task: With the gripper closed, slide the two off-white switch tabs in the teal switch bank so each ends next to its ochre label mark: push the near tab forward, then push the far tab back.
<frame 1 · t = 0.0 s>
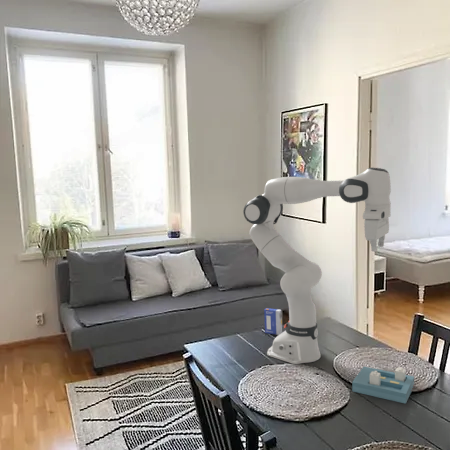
hand: (377, 248, 171), 48 cm above the table, tool pointing down, fingers open, 8 cm apart
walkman: (273, 333, 221), on the table
switch bank: (383, 388, 164), on the table
tab far: (400, 375, 164), point 5 cm above the table, slide at 7.0 cm
tab near: (375, 379, 162), point 5 cm above the table, slide at 0.0 cm
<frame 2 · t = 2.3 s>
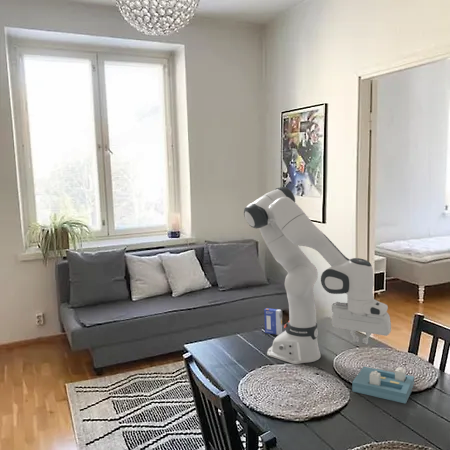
hand: (360, 342, 163), 17 cm above the table, tool pointing down, fingers closed
nothing on the table moved.
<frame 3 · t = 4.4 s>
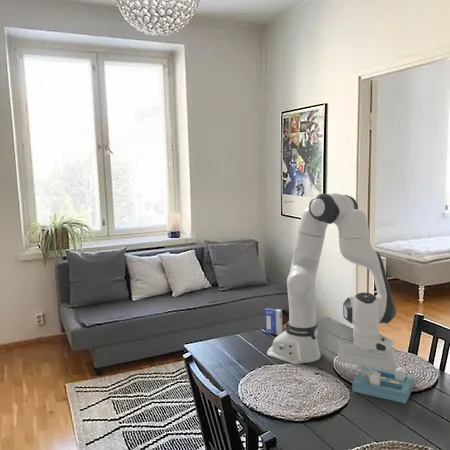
hand: (366, 377, 163), 5 cm above the table, tool pointing down, fingers closed
tab near: (375, 379, 162), point 5 cm above the table, slide at 0.0 cm, touching gripper
everything else where it was.
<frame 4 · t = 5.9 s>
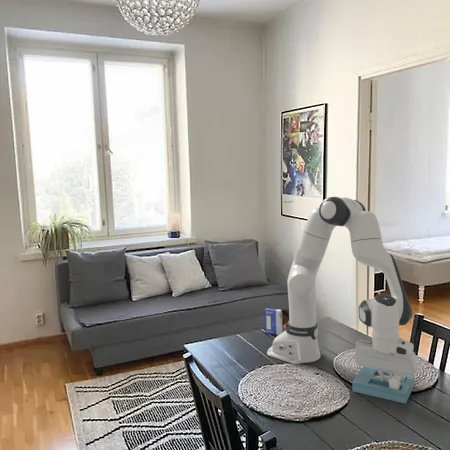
hand: (385, 381, 160), 5 cm above the table, tool pointing down, fingers closed
tab near: (394, 383, 158), point 5 cm above the table, slide at 6.6 cm, touching gripper
everything else where it was.
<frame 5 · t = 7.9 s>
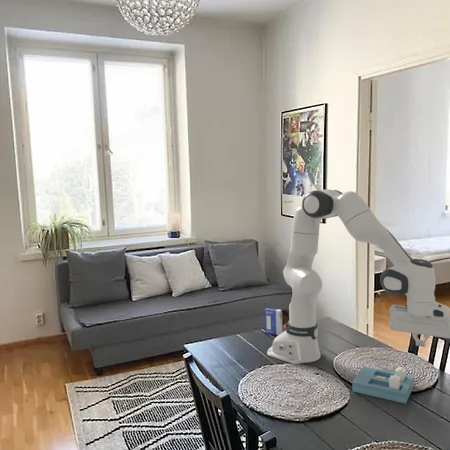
hand: (420, 345, 159), 17 cm above the table, tool pointing down, fingers closed
tab near: (394, 383, 158), point 5 cm above the table, slide at 6.6 cm
everything else where it was.
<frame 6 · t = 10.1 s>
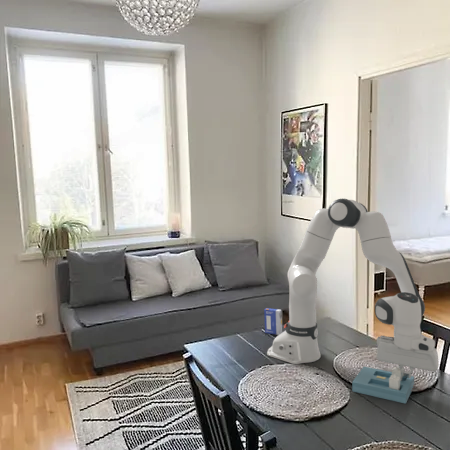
hand: (406, 377, 163), 4 cm above the table, tool pointing down, fingers closed
tab far: (397, 374, 164), point 5 cm above the table, slide at 5.9 cm, touching gripper
everything else where it was.
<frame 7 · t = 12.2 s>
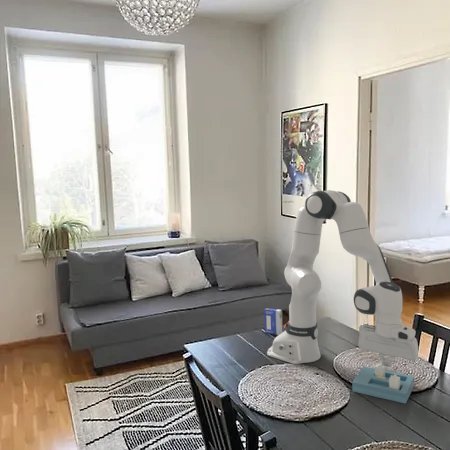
hand: (386, 365, 164), 8 cm above the table, tool pointing down, fingers closed
tab far: (380, 371, 167), point 5 cm above the table, slide at 0.0 cm
everything else where it was.
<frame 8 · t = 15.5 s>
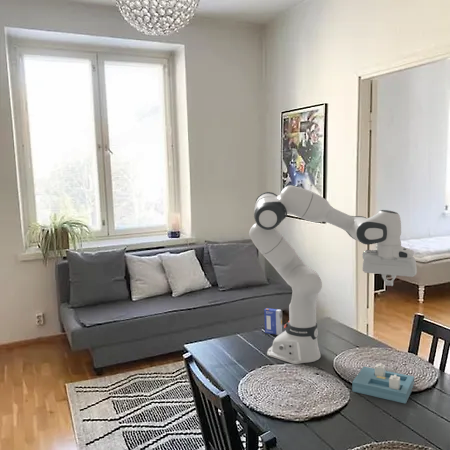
hand: (389, 285, 183), 31 cm above the table, tool pointing down, fingers closed
nothing on the table moved.
at the end: tab near slide at 6.6 cm; tab far slide at 0.0 cm; tab far touching nothing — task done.
